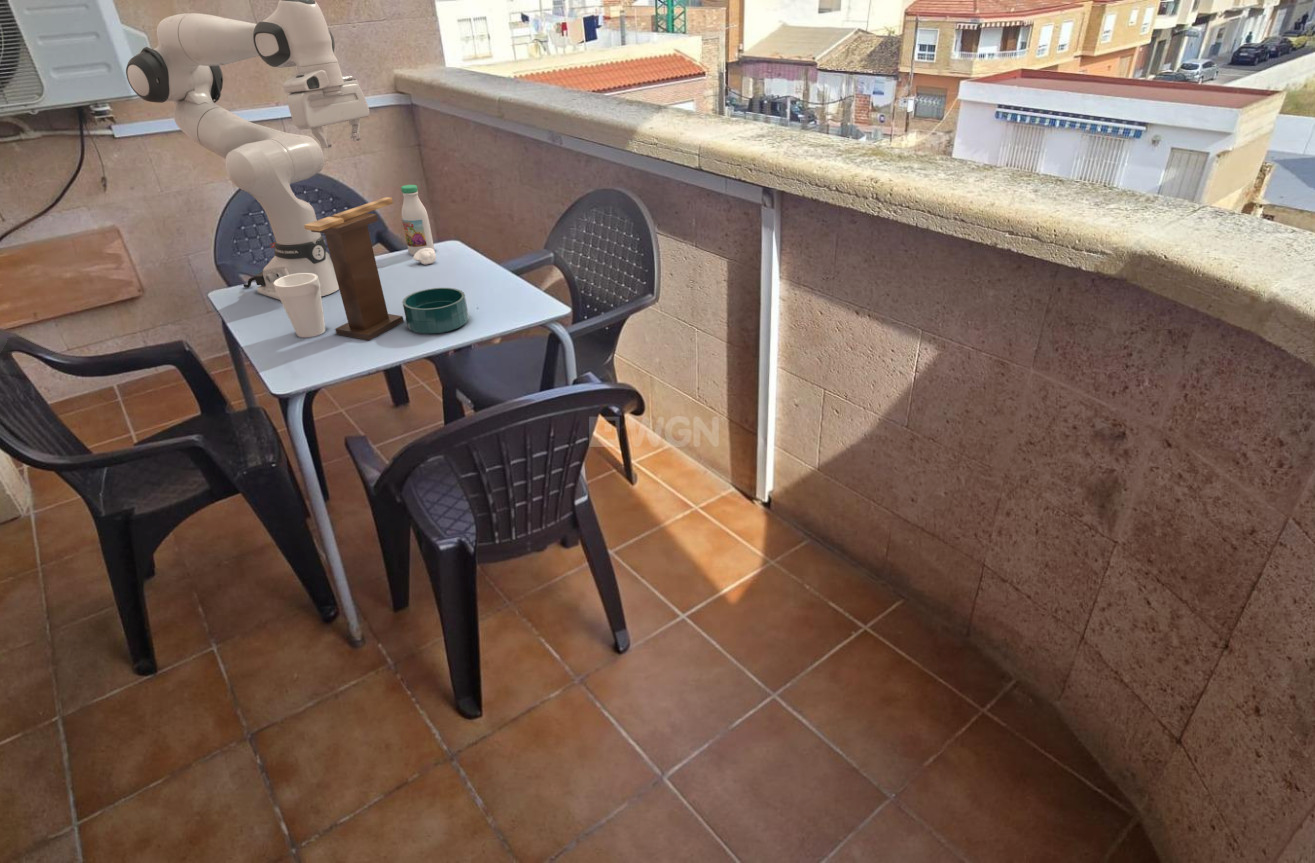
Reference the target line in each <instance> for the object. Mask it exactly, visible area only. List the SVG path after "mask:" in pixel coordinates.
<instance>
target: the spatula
mask: <svg viewBox="0 0 1315 863" xmlns="http://www.w3.org/2000/svg"><path fill="white" fill-rule="evenodd" d="M390 205H394V202H393V197H389V196H385V197H383V198H379V199H376V200H373V201H370V202H367V203H364V204H362V205H359V206H356V207H353V208H349V209H347V210H344V211H340V212H338V213H335V214H332V216H326V217H323V218H320V219H317V221H314V222H311V223H308V224H305V225H304V226H305V229H306V230H314V231H322V230H325V229H328V228H330V227H333V226H336V225H339V224H342V223H344V221H345V220H348V219H350V218H353V217H356V216H359V215H362V214H365V213H371V212H373V211H376V210H380V209H381V208H384V207H387V206H390Z"/></svg>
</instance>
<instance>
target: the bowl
mask: <svg viewBox="0 0 1315 863" xmlns="http://www.w3.org/2000/svg"><path fill="white" fill-rule="evenodd" d="M401 303H402V307H403V312H404V317H405V320H406V325H407V328H408V329H409V330H410V331H411V332H415V333H419V334H422V335H423V334H425V335H438V334H444V333H448V332H453V331H455V330H457V329H459V328H461V327H463V326H464V325H466V323H468V321H469V318H470V317H469V310H468V305H467V299H466V294H465V292H464V291H462V290H461V289H458V288H452V287H433V288H426V289H422V290H418V291H415V292H412V293H410V294H408V295H407V296H406V297H404V298H403V299H402V302H401Z"/></svg>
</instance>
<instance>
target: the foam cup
mask: <svg viewBox="0 0 1315 863" xmlns="http://www.w3.org/2000/svg"><path fill="white" fill-rule="evenodd" d="M273 284H274V287H275V290H276V293H277V294H278V295H279V298H280V300H279V301H280V302H281V304H282V306H283V308H284V310H285V313H286V315H287V317H288V320H289V321H290V323H291V325H292V328H293V329H294V332H295V333H296V336H298V338H299V337H300V338H312V337H317V336H319V335H322V334H323V333H325V332H326V324H325V315H324V308H323V300H322V296H321V292H320V282H319V278H318V276H317V275H316V274H312V273H298V274H292V275H287V276H284V277H281V278H279V279H277V280H275V282H274V283H273Z"/></svg>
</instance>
